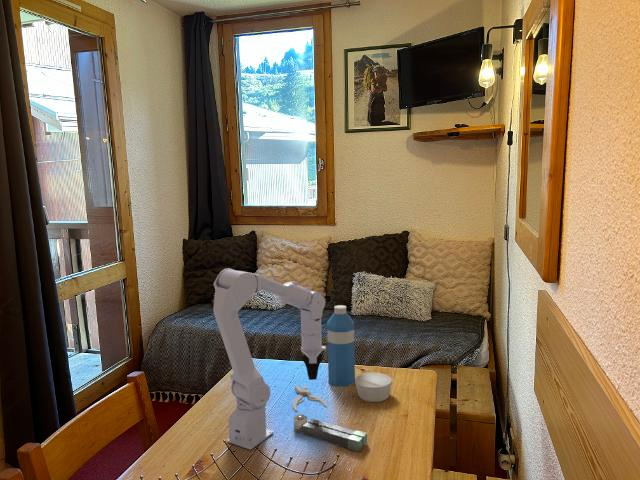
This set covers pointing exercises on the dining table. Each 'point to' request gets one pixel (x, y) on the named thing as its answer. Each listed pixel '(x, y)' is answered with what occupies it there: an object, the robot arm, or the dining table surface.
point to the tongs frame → (327, 434)
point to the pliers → (307, 392)
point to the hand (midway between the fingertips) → (312, 378)
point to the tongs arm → (340, 429)
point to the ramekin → (373, 386)
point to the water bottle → (341, 348)
